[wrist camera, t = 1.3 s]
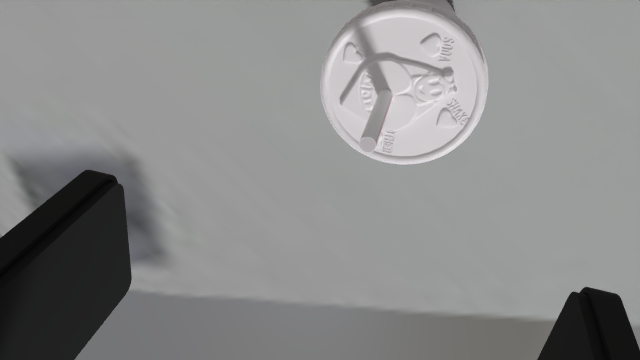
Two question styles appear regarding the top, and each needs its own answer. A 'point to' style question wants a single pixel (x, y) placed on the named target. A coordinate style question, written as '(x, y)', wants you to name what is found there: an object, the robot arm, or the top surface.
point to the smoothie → (405, 81)
